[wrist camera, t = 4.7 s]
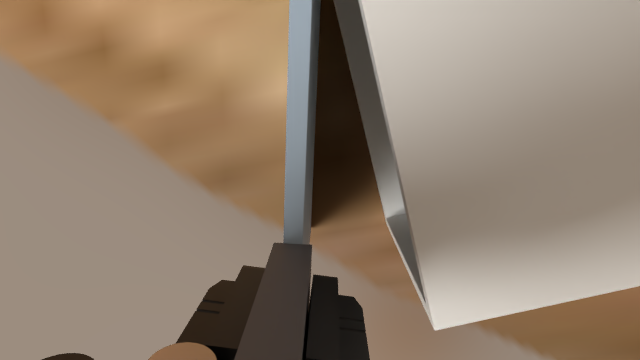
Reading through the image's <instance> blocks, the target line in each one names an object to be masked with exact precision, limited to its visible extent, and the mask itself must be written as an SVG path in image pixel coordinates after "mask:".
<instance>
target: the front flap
mask: <svg viewBox="0 0 640 360" xmlns="http://www.w3.org/2000/svg"><path fill="white" fill-rule="evenodd" d="M320 7H321V0H290V3H289V44H288V84H287V124H286V164H285V205H284V243H274V244H273V247H272V250H271V253H270V256H269V259H268V262H267V265H266V268H265V271H264V274H263V277H262V280H261V283H260V285H259V288H258V291H257V294H256V297H255V300H254V303H253V306H252V309H251V312H250V315H249V318H248V321H247V323H246V326H245V329H244V332H243V335H242V338H241V341H240V344H239V347H238V350H237V353H236V356H235V359H234V360H304V354H305V343H306V332H307V321H308V311H309V301H310V278H311V255H312V245H309V242H310V233H311V214H312V191H313V168H314V145H315V122H316V99H317V76H318V53H319V30H320Z"/></svg>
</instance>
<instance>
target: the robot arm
mask: <svg viewBox="0 0 640 360" xmlns="http://www.w3.org/2000/svg"><path fill="white" fill-rule="evenodd" d="M264 271H265V268H259V267H251V266H243V267H242V269H241V271H240V273H239V275H238V277H237V279H236V281H227V280H221V281H220V282H218V283H217V284H215V285H214V286H212V287H211V288H210V289H209V290H208V292H207V293H206V295H205V296H204V298H203V301H202V302H201V303H200V305H199V306H198V308H197V311H195V313H194V314H193V316H192V318H191V319H190V321H189V323H188V324H187V326H186V327H185V329H184V331H183V332H182V334H181V336H180V337H179V339H178V341H177V342H176V344H173V345H169V346H167V347H164V348H163V349H161V350H159V351H157V352H156V353H154V354H153V355H152V356H151V357H150V358H149V359H148V360H234V359H235V356H236V353H237V350H238V347H239V344H240V341H241V338H242V335H243V332H244V329H245V326H246V323H247V321H248V318H249V315H250V312H251V309H252V306H253V303H254V300H255V297H256V294H257V291H258V288H259V285H260V283H261V280H262V277H263V274H264ZM365 331H366V330H365V324H364V317H363V310H362V307H361V306H360V305H359V303H358V302H357V301H356V299H355V298H354V297H350V296H343V295H338V278H337V277H329V276H321V275H313V282H312V289H311V296H310V303H309V311H308V321H307V332H306V343H305V354H304V360H370V358H369V351H368V344H367V337H366V333H365ZM42 360H94V359H93V358H91V357H89V356H87V355H84V354H78V353H67V354H59V355H56V356H51V357H48V358H45V359H42Z"/></svg>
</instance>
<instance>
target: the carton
mask: <svg viewBox="0 0 640 360" xmlns="http://www.w3.org/2000/svg"><path fill="white" fill-rule="evenodd" d="M333 1H334V5H335V10H336V14H337V18H338V22H339V26H340V31H341V35H342V39H343V43H344V47H345V52H346V56H347V60H348V64H349V68H350V73H351V77H352V81H353V85H354V89H355V94H356V98H357V102H358V106H359V110H360V115H361V119H362V123H363V127H364V131H365V136H366V140H367V144H368V148H369V152H370V157H371V161H372V165H373V169H374V173H375V178H376V182H377V186H378V190H379V194H380V199H381V203H382V207H383V211H384V215H385V220H386V224H387V226H388V228H389V231H390V233H391V235H392V237H393V240H394V242H395V244H396V246H397V248H398V251H399V253H400V255H401V257H402V260H403V262H404V264H405V266H406V268H407V271H408V273H409V275H410V277H411V279H412V282H413V284H414V286H415V288H416V291H417V293H418V295H419V297H420V299H421V302H422V304H423V306H424V308H425V311H426V313H427V315H428V317H429V319H430V322H431V324H432V326H433V328H434V330H440V329H444V328H449V327H453V326H458V325H463V324H467V323H472V322H476V321H481V320H486V319H490V318H495V317H499V316H504V315H509V314H513V313H518V312H522V311H527V310H532V309H536V308H541V307H545V306H550V305H554V304H559V303H564V302H568V301H573V300H577V299H582V298H587V297H591V296H596V295H600V294H605V293H610V292H614V291H619V290H623V289H628V288H633V287H637V286H640V0H333Z"/></svg>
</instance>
